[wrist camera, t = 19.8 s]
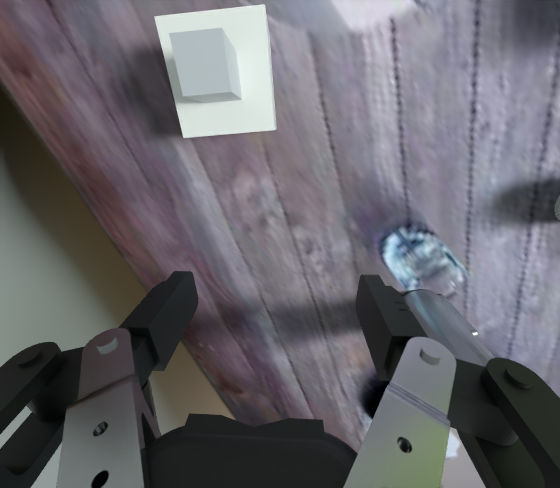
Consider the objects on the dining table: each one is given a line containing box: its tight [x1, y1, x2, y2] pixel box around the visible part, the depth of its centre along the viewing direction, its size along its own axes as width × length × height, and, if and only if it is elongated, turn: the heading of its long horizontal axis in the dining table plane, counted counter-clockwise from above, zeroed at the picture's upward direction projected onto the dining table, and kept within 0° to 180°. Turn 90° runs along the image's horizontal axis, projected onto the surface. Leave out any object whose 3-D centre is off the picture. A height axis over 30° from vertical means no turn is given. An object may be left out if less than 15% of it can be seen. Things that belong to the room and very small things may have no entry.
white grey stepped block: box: [154, 4, 276, 138], centre depth 25 cm, size 10×10×15 cm
